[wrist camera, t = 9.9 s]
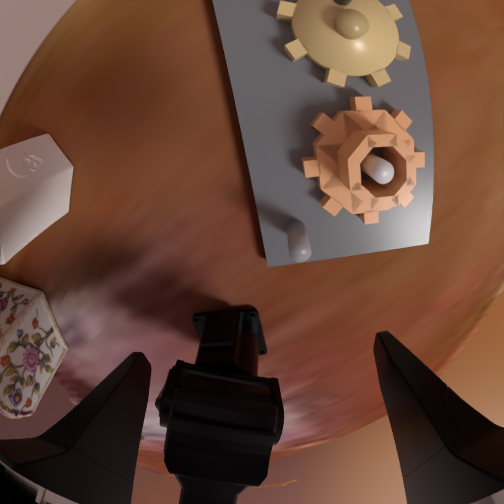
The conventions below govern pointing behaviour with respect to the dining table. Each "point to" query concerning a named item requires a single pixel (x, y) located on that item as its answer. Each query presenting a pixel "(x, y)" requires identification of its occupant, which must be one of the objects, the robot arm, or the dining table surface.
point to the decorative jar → (26, 348)
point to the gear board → (328, 102)
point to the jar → (31, 191)
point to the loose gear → (354, 151)
